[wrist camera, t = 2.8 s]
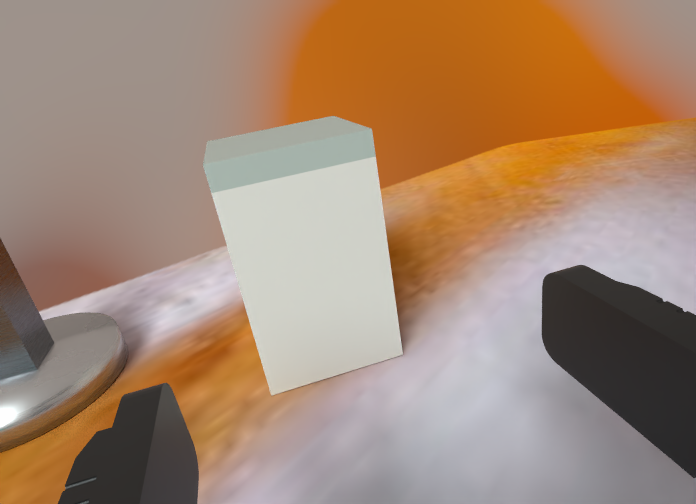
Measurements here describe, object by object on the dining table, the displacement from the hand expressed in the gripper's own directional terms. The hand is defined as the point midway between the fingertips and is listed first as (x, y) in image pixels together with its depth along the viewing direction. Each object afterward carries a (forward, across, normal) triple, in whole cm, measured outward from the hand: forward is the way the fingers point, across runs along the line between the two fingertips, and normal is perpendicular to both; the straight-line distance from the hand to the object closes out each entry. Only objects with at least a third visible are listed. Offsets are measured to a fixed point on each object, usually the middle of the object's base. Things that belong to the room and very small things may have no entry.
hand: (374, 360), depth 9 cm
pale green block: (+11, 0, +7) cm, 13 cm away
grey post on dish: (+15, +14, +7) cm, 22 cm away
